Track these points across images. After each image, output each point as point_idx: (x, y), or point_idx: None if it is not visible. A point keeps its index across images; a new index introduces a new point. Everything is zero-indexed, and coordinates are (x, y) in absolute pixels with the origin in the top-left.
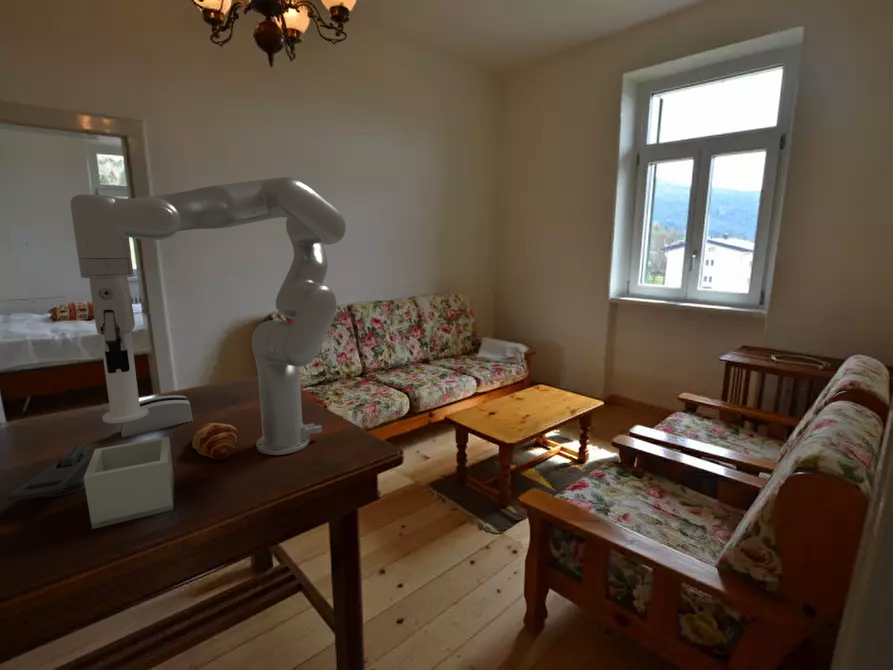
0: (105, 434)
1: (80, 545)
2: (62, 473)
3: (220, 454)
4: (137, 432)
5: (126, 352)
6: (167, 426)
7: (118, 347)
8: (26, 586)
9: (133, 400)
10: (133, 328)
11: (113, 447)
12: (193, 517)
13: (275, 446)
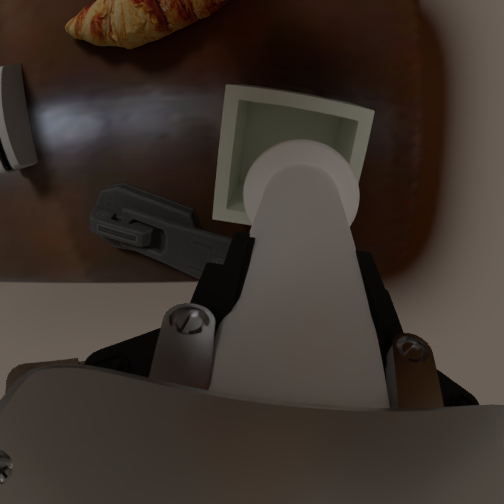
0: (22, 186)
1: (362, 216)
2: (199, 246)
3: (226, 1)
4: (32, 143)
5: (390, 315)
6: (25, 100)
7: (438, 377)
8: (401, 260)
9: (337, 193)
10: (374, 412)
11: (224, 190)
12: (393, 86)
13: None
